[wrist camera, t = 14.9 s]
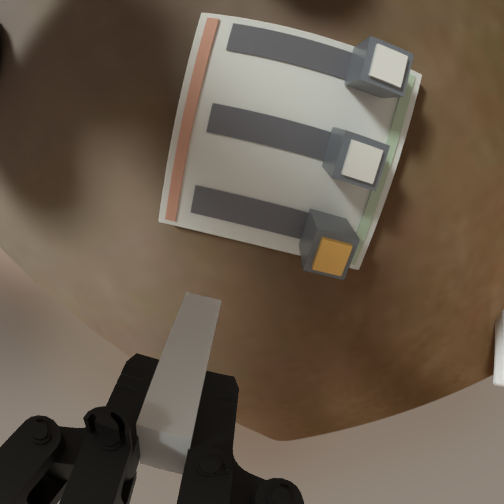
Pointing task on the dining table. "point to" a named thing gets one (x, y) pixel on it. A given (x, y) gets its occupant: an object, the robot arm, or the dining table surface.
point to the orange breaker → (327, 244)
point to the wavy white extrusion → (499, 351)
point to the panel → (285, 132)
